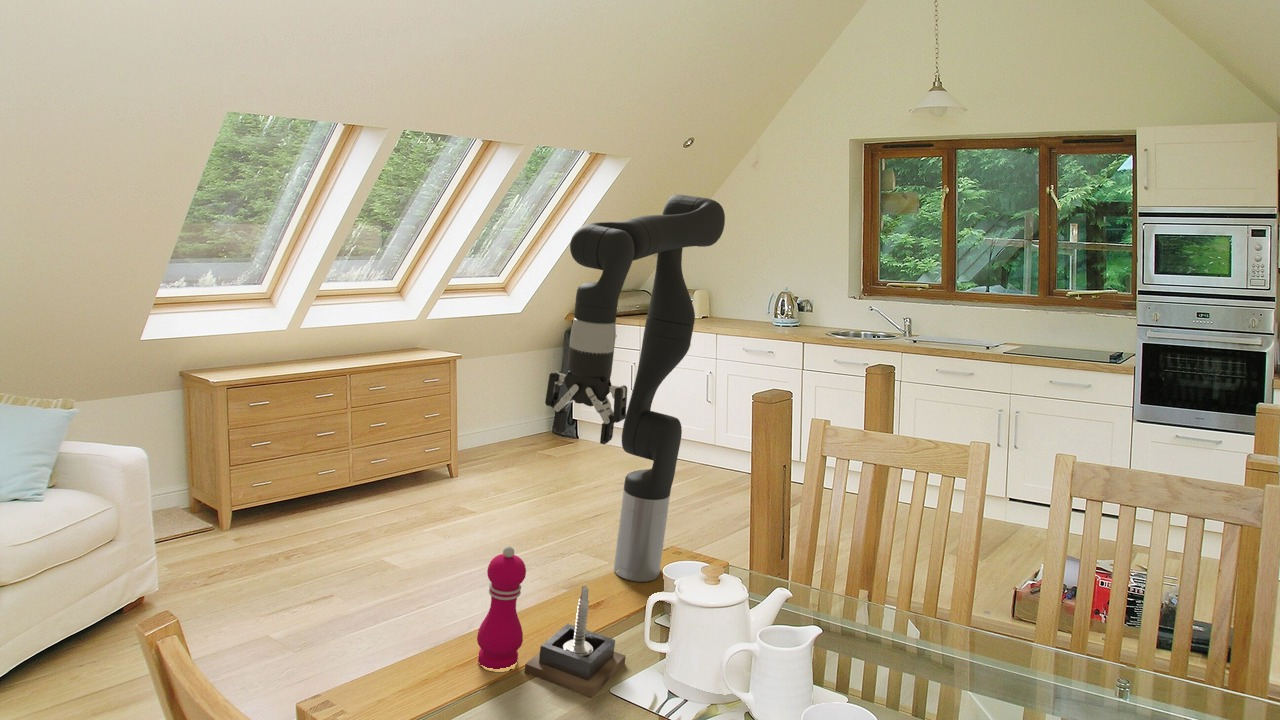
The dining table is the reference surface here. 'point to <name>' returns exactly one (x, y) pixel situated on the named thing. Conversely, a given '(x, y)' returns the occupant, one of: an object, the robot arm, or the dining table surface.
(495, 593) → the pepper mill
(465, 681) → the dining table surface
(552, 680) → the walnut board
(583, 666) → the socket
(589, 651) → the screw
